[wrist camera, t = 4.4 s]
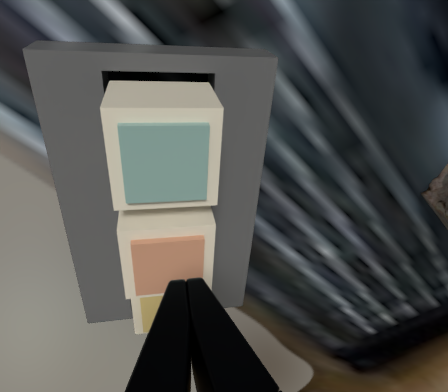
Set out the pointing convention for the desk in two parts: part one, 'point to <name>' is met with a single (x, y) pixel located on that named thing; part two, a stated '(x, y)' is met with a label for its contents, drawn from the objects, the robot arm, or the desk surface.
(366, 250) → the desk surface
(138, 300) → the key
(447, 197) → the geological specimen
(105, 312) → the keypad base
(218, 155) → the key
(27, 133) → the desk surface
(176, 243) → the key
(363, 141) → the desk surface
